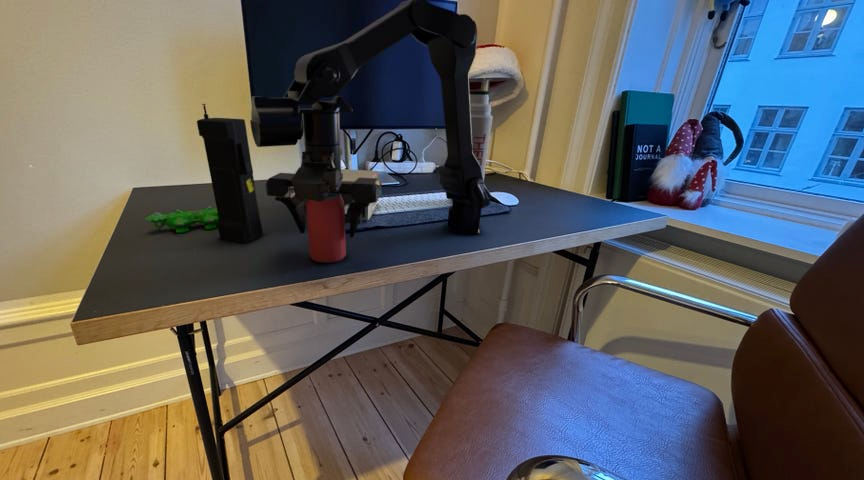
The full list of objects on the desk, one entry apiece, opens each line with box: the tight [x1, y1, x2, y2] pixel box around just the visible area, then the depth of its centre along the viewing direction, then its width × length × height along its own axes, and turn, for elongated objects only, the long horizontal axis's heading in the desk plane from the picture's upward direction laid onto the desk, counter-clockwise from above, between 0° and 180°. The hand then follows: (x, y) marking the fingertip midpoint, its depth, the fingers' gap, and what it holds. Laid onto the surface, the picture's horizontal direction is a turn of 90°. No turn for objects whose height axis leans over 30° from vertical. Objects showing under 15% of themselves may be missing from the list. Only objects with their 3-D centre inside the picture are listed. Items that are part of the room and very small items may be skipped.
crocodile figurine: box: [144, 205, 219, 234], centre depth 79 cm, size 7×18×4 cm, turn 115°
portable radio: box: [196, 103, 264, 244], centre depth 70 cm, size 8×6×25 cm
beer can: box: [305, 193, 347, 264], centre depth 65 cm, size 7×7×12 cm
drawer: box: [341, 194, 365, 225], centre depth 84 cm, size 16×10×7 cm, turn 170°
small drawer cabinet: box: [341, 168, 379, 222], centre depth 91 cm, size 13×12×9 cm
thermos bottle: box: [469, 89, 494, 184], centre depth 95 cm, size 8×8×28 cm
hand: (327, 234), depth 66 cm, fingers open, 9 cm apart
